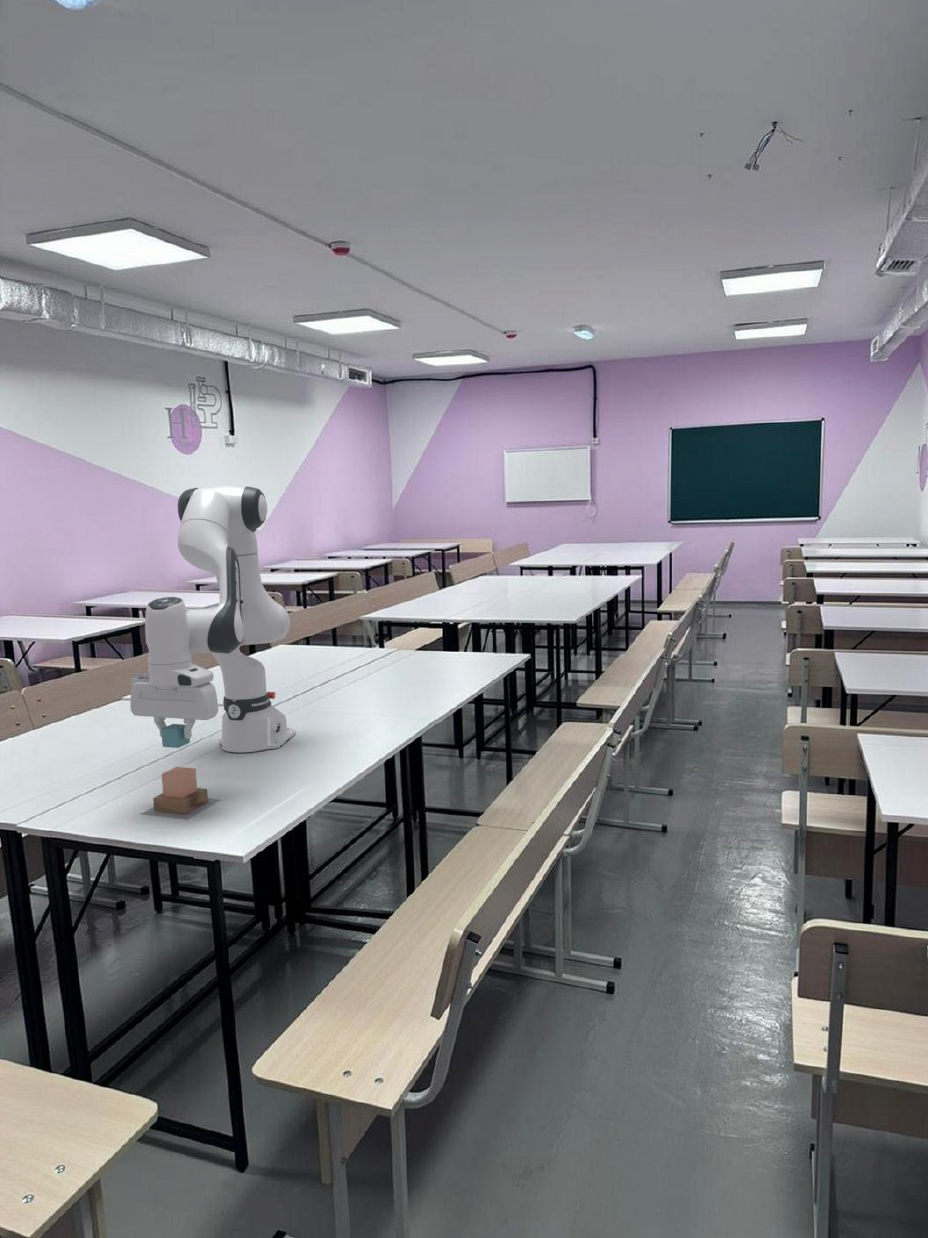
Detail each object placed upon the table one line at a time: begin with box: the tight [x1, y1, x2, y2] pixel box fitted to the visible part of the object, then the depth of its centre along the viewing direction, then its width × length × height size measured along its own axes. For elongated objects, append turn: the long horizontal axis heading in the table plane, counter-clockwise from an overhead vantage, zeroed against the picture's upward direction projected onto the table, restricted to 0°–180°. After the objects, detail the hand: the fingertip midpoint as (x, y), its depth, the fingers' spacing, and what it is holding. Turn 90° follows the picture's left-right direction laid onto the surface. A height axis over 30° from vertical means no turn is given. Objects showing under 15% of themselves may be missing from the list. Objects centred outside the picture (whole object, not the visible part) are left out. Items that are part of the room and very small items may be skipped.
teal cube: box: [161, 723, 191, 749], centre depth 181 cm, size 4×4×4 cm
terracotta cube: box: [161, 766, 198, 798], centre depth 182 cm, size 5×5×5 cm
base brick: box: [152, 787, 209, 815], centre depth 183 cm, size 8×8×3 cm
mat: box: [140, 797, 222, 820], centre depth 183 cm, size 12×12×1 cm
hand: (176, 737), depth 181 cm, fingers closed on teal cube, 4 cm apart
